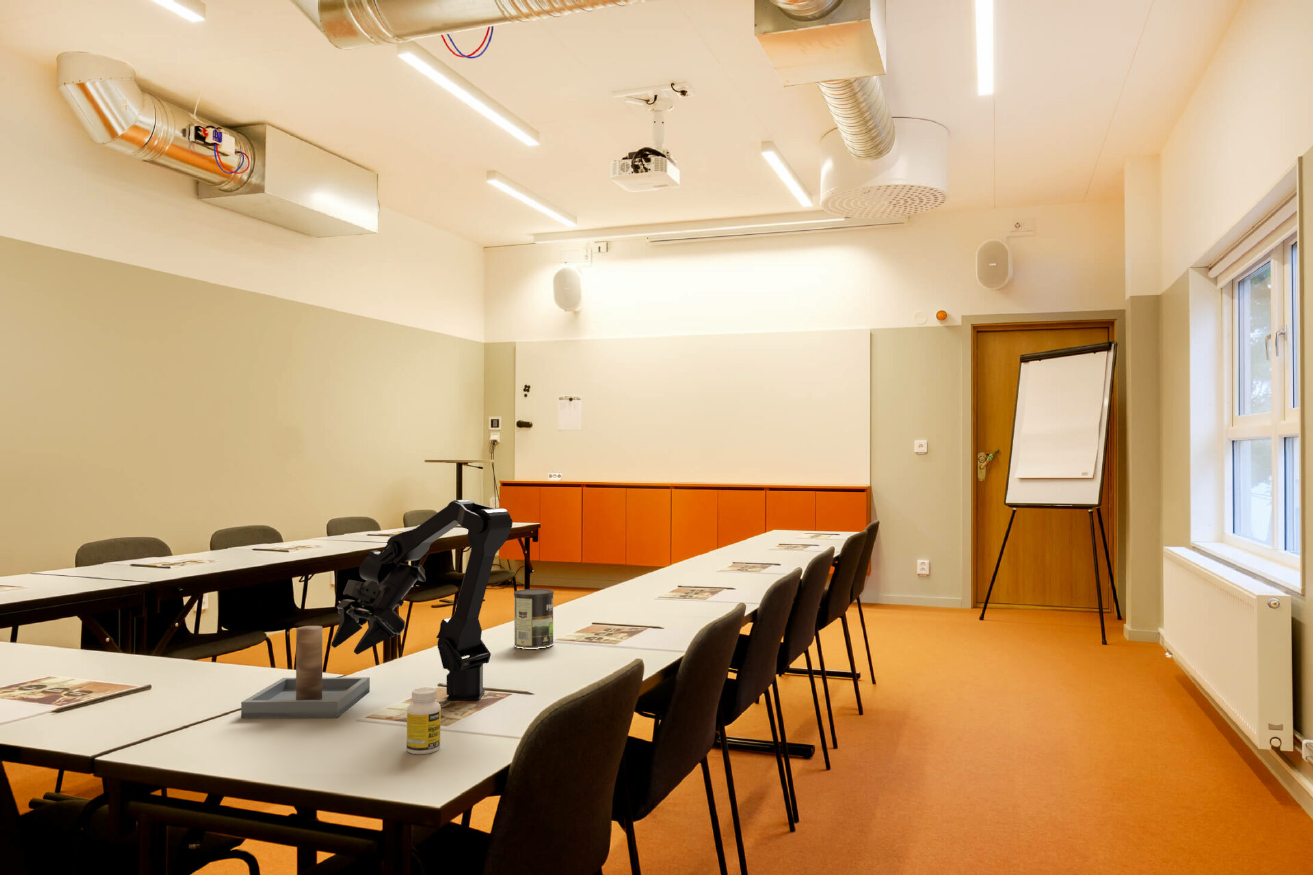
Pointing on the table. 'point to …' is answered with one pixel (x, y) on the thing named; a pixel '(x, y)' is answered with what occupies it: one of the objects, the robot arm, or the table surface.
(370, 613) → the robot arm
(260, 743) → the table surface
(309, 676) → the canister
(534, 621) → the coffee can
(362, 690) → the bin
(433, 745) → the supplement bottle
